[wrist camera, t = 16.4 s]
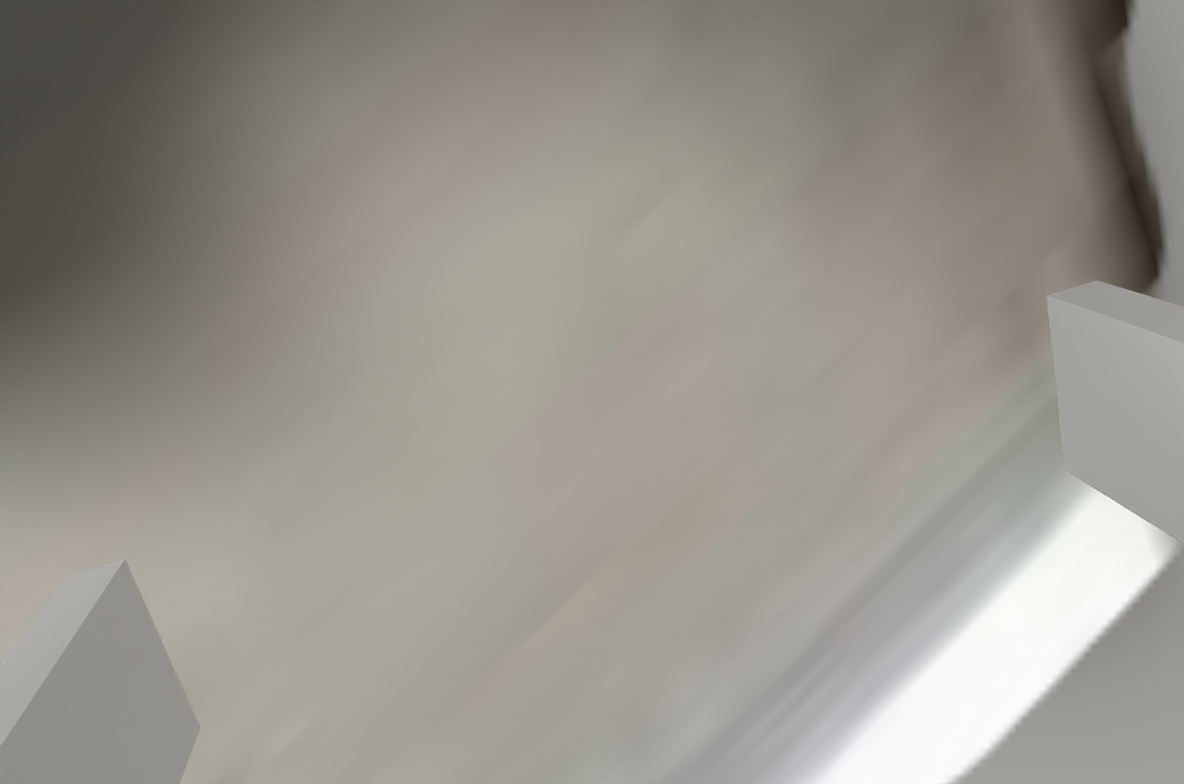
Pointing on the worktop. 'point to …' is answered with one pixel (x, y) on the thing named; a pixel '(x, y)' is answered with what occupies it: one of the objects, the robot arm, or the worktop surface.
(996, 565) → the worktop surface
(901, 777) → the worktop surface
